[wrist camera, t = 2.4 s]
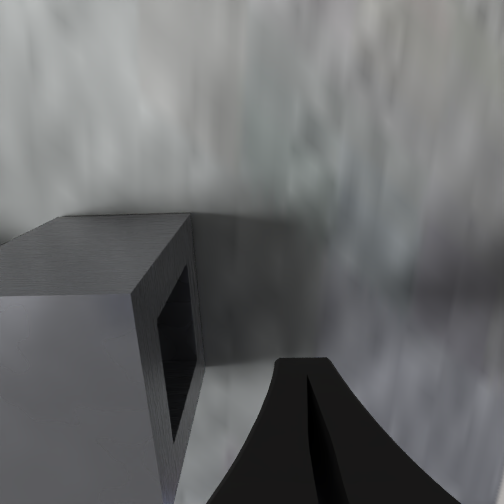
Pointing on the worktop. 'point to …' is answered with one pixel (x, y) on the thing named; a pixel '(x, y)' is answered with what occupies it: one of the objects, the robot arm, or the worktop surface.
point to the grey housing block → (98, 359)
